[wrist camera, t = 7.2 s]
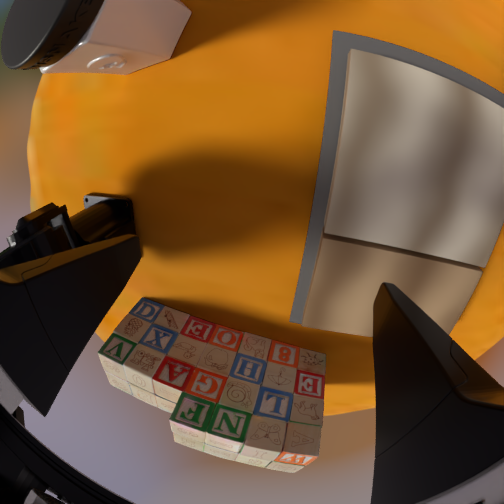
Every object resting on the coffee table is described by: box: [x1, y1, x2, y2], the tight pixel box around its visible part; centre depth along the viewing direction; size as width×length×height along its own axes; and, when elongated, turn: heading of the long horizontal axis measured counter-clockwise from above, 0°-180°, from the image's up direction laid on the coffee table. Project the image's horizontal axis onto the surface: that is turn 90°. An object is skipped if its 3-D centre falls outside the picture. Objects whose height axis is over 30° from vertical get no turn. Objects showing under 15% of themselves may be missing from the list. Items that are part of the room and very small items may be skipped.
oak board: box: [302, 227, 483, 337], centre depth 19 cm, size 14×8×2 cm, turn 85°
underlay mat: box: [289, 30, 504, 324], centre depth 18 cm, size 16×24×1 cm, turn 175°
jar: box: [1, 0, 192, 75], centre depth 10 cm, size 9×8×12 cm
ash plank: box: [324, 49, 504, 268], centre depth 14 cm, size 14×12×2 cm
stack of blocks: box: [98, 297, 326, 473], centre depth 24 cm, size 21×6×12 cm, turn 79°
